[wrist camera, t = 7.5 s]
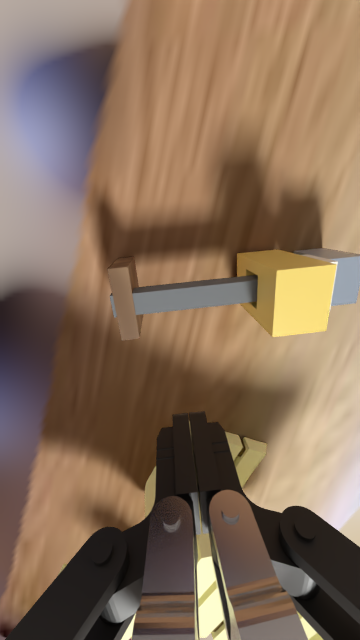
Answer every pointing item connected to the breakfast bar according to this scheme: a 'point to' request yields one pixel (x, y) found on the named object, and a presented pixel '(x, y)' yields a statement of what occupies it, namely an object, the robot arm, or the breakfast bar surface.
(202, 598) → the slatted curved stool
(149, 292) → the grey slider rail
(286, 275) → the yellow sliding collar
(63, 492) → the breakfast bar surface
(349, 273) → the block
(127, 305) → the tan flat end block
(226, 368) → the breakfast bar surface
